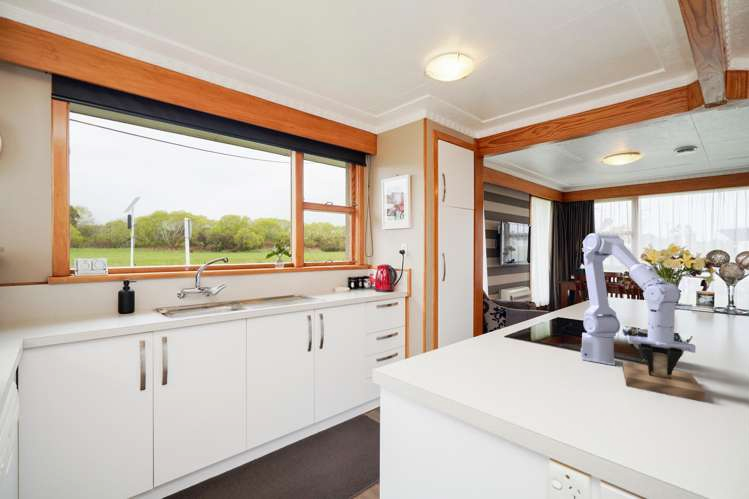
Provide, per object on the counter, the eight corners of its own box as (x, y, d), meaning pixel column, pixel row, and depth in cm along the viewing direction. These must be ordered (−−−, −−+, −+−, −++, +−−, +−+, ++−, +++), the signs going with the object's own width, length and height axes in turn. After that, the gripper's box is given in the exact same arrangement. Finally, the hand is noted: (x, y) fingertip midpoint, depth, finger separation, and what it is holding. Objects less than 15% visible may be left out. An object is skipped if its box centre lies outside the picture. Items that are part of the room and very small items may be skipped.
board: (626, 385, 93) (626, 377, 93) (623, 369, 107) (623, 361, 107) (704, 401, 84) (705, 392, 84) (690, 381, 98) (690, 373, 98)
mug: (675, 363, 114) (676, 334, 114) (662, 367, 110) (663, 336, 110) (635, 353, 124) (636, 326, 124) (622, 356, 120) (623, 328, 120)
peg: (651, 384, 95) (652, 354, 95) (650, 380, 98) (651, 351, 98) (668, 387, 93) (669, 357, 93) (666, 383, 96) (667, 354, 96)
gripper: (630, 324, 96) (628, 370, 96) (698, 332, 88) (697, 383, 88) (628, 320, 102) (627, 363, 102) (692, 327, 94) (691, 374, 94)
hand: (659, 372), depth 95 cm, fingers closed on peg, 4 cm apart
